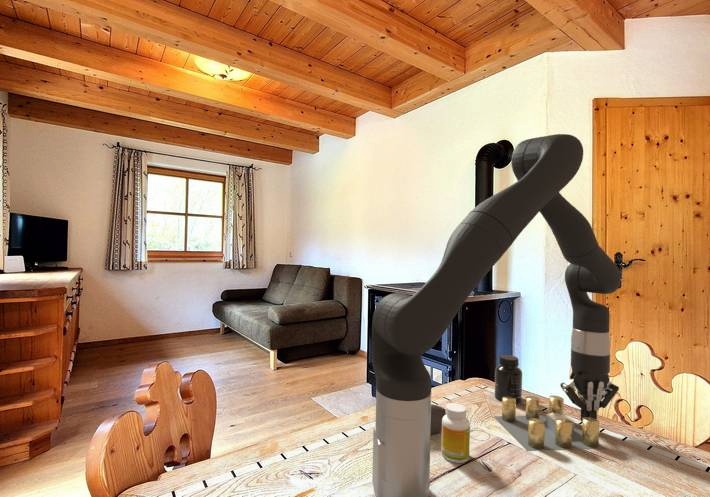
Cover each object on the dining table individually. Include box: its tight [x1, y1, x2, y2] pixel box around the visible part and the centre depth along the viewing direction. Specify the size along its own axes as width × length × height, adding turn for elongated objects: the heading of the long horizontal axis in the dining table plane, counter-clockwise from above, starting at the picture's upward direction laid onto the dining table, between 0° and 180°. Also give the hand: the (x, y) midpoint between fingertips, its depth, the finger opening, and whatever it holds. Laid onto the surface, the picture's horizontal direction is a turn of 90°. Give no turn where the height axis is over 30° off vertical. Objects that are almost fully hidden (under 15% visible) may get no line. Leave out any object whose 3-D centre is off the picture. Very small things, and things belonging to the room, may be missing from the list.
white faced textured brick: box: [545, 412, 575, 435], centre depth 82 cm, size 4×4×3 cm
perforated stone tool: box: [430, 403, 446, 435], centre depth 81 cm, size 15×5×7 cm, turn 98°
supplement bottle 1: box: [440, 402, 471, 464], centre depth 73 cm, size 5×5×10 cm
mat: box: [492, 414, 607, 452], centre depth 82 cm, size 23×15×1 cm, turn 95°
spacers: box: [501, 395, 600, 449], centre depth 82 cm, size 15×14×5 cm
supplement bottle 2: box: [494, 354, 523, 405], centre depth 99 cm, size 7×7×12 cm
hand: (588, 425), depth 83 cm, fingers closed
